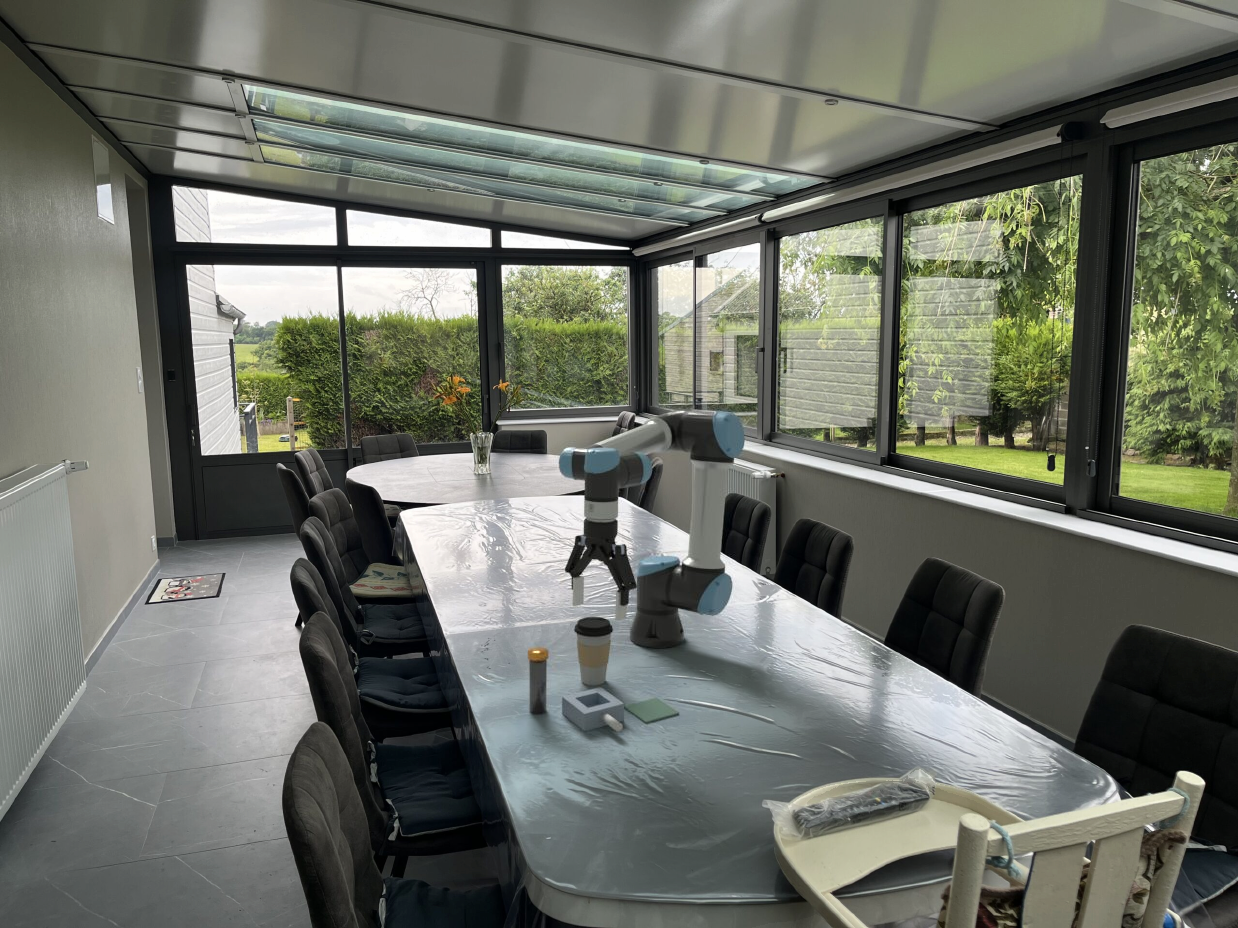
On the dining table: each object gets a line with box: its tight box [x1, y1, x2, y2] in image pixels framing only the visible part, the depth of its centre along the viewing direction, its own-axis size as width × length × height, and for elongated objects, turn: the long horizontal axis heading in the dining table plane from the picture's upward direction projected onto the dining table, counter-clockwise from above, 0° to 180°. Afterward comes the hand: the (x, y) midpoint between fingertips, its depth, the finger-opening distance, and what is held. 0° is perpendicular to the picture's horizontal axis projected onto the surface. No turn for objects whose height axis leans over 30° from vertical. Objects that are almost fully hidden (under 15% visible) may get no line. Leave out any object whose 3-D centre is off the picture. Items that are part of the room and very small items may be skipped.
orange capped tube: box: [527, 646, 549, 715], centre depth 187 cm, size 5×5×14 cm
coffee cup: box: [573, 616, 614, 686], centre depth 203 cm, size 9×9×15 cm
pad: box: [624, 697, 680, 724], centre depth 188 cm, size 9×9×1 cm
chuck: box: [561, 686, 625, 733], centre depth 182 cm, size 16×10×4 cm, turn 32°
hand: (598, 611), depth 186 cm, fingers open, 13 cm apart
